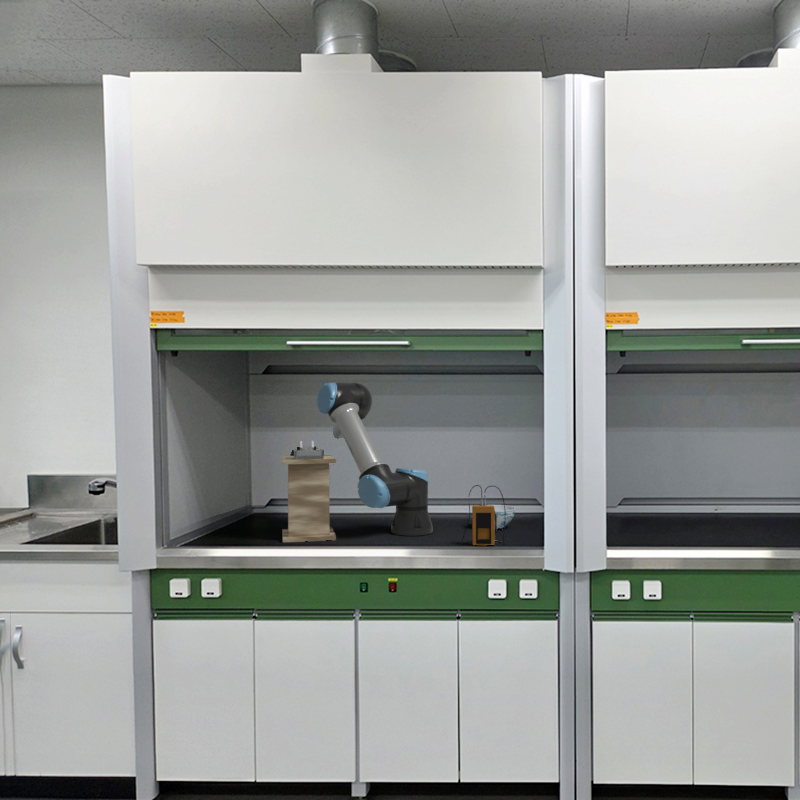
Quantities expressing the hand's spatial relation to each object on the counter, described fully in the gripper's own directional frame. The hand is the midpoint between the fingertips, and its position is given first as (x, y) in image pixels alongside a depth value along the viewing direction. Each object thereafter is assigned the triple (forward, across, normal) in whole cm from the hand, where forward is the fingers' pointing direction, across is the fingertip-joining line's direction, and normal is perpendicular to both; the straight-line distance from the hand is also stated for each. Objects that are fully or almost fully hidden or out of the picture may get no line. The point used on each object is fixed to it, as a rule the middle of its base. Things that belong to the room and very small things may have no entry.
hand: (307, 444), depth 246 cm
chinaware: (-9, -69, -32) cm, 77 cm away
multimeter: (+12, -57, -44) cm, 73 cm away
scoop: (+1, 0, -5) cm, 5 cm away
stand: (-7, 0, -33) cm, 34 cm away
